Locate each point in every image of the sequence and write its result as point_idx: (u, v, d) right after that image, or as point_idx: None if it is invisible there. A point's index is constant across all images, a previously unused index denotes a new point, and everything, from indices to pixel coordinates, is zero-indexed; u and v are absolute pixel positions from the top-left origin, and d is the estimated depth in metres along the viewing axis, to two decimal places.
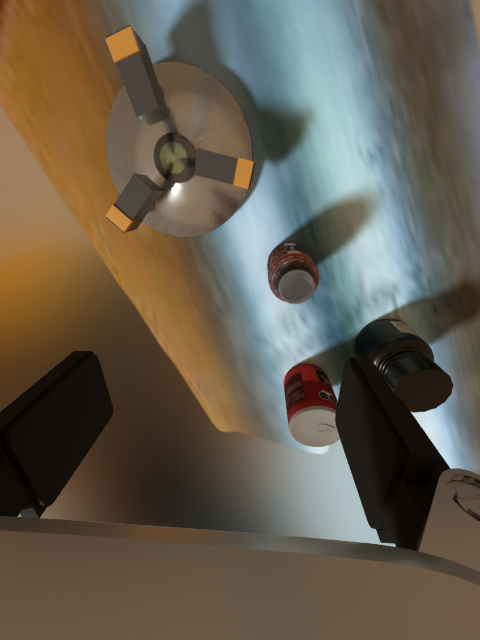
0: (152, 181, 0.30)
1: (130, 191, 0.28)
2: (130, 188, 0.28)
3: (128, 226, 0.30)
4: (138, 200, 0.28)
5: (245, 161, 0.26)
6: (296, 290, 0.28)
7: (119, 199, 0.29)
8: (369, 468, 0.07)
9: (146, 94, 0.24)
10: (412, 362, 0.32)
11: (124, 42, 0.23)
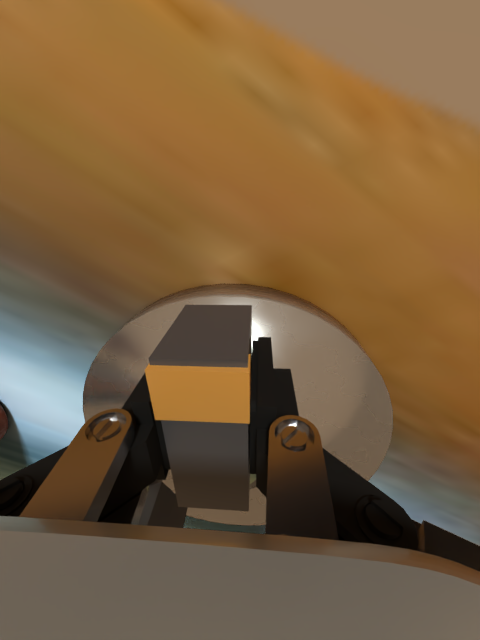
0: None
1: (226, 476, 0.08)
2: (231, 482, 0.08)
3: None
4: (189, 471, 0.08)
5: None
6: None
7: (241, 442, 0.07)
8: None
9: None
10: None
11: None
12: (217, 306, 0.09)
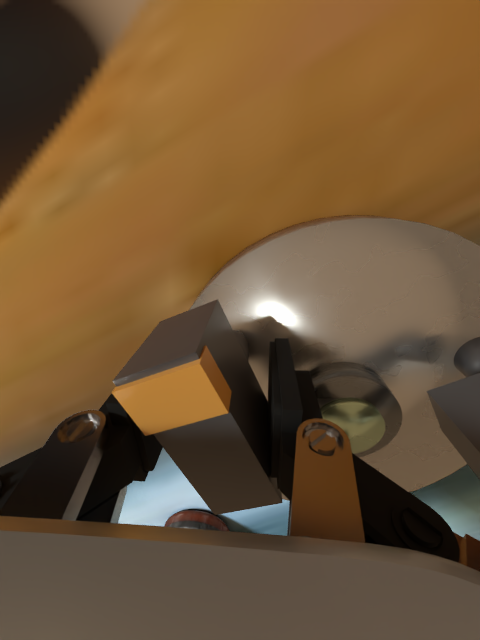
0: None
1: (241, 472, 0.08)
2: (249, 477, 0.08)
3: None
4: (205, 477, 0.08)
5: None
6: None
7: (235, 434, 0.07)
8: (271, 427, 0.08)
9: None
10: None
11: None
12: (186, 312, 0.09)
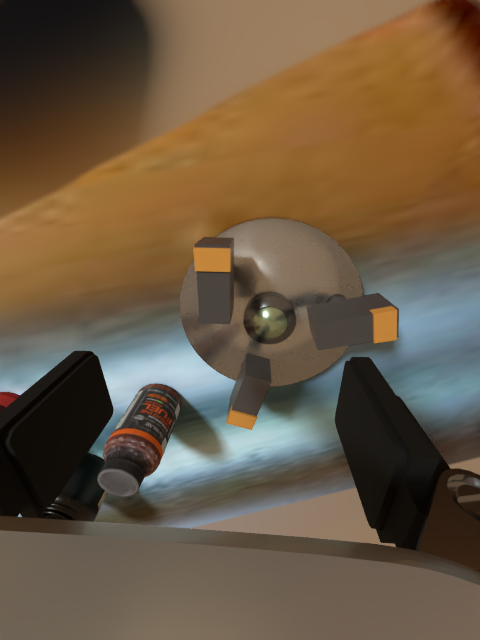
0: None
1: (221, 303, 0.19)
2: (223, 306, 0.19)
3: None
4: (205, 300, 0.19)
5: (252, 423, 0.24)
6: (114, 483, 0.24)
7: (227, 283, 0.19)
8: (369, 468, 0.07)
9: (333, 340, 0.20)
10: None
11: (385, 330, 0.19)
12: (218, 237, 0.21)
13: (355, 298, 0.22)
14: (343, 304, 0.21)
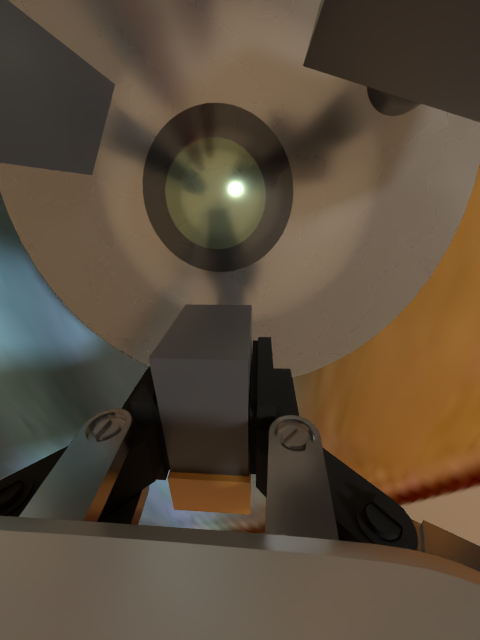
0: (319, 7, 0.06)
1: None
2: None
3: None
4: None
5: None
6: None
7: None
8: None
9: (180, 400, 0.07)
10: None
11: (201, 496, 0.08)
12: None
13: None
14: None
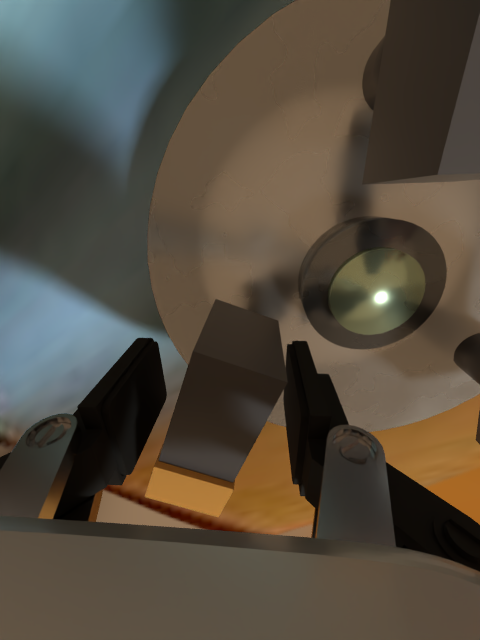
0: None
1: None
2: None
3: None
4: None
5: None
6: None
7: None
8: (293, 432, 0.08)
9: (205, 398, 0.07)
10: None
11: (179, 491, 0.08)
12: None
13: None
14: None
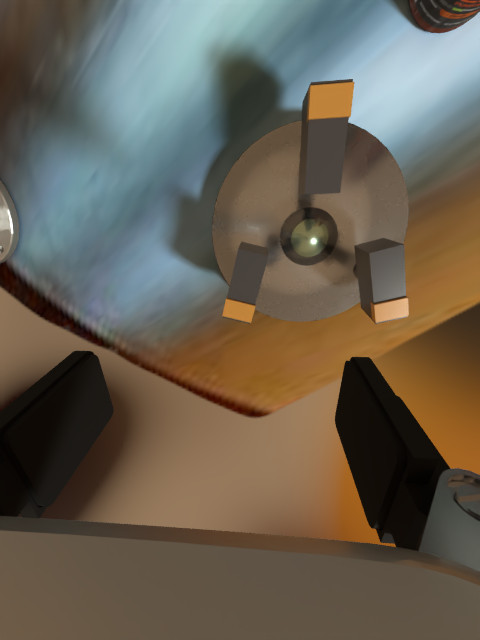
0: (366, 243, 0.22)
1: (380, 273, 0.20)
2: (378, 270, 0.20)
3: None
4: (396, 271, 0.20)
5: (312, 103, 0.16)
6: None
7: (375, 293, 0.20)
8: (369, 468, 0.07)
9: (242, 266, 0.20)
10: None
11: (235, 310, 0.22)
12: None
13: None
14: None
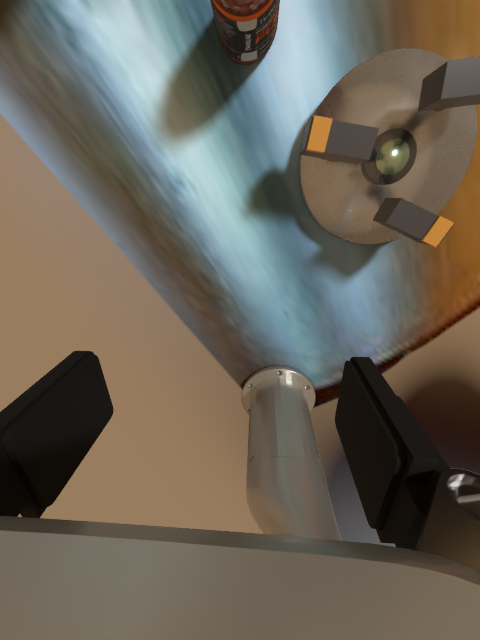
0: (421, 98, 0.24)
1: (465, 85, 0.21)
2: (462, 88, 0.21)
3: None
4: (471, 66, 0.21)
5: (316, 148, 0.23)
6: None
7: None
8: (369, 468, 0.07)
9: (401, 221, 0.26)
10: None
11: (436, 234, 0.26)
12: None
13: None
14: None
